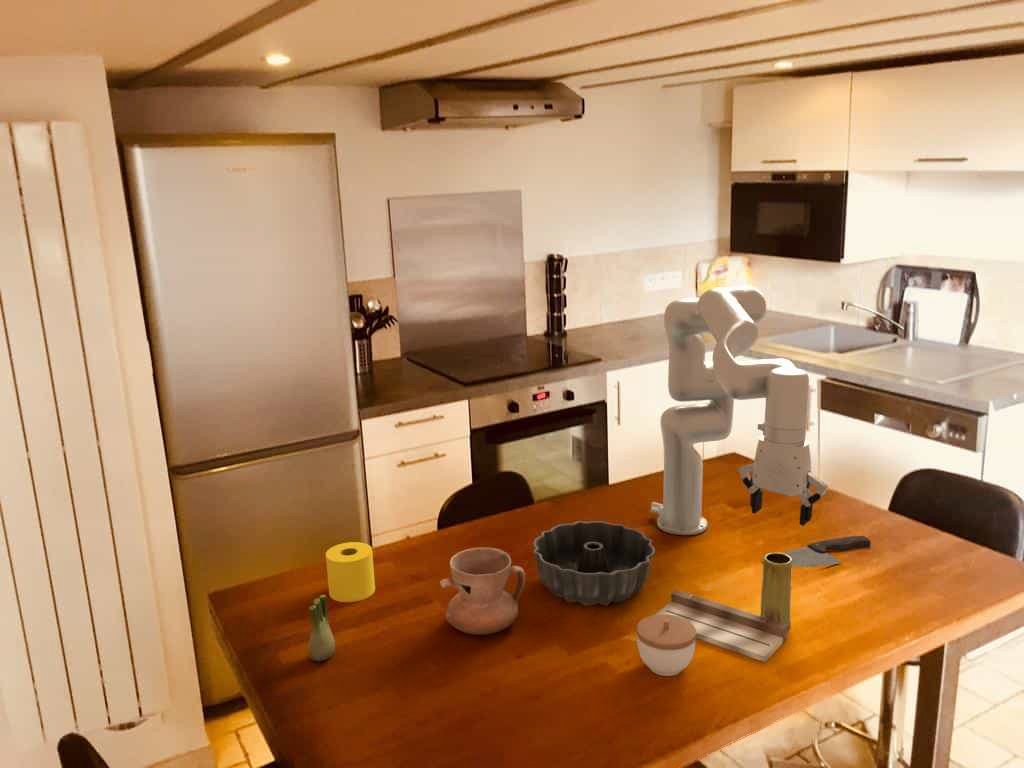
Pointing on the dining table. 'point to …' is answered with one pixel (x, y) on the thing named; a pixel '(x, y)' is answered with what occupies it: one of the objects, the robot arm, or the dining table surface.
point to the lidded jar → (666, 643)
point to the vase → (776, 588)
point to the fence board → (728, 626)
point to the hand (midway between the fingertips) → (780, 517)
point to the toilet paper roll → (350, 571)
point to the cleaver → (824, 551)
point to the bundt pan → (593, 561)
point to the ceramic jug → (482, 591)
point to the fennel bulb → (320, 632)
